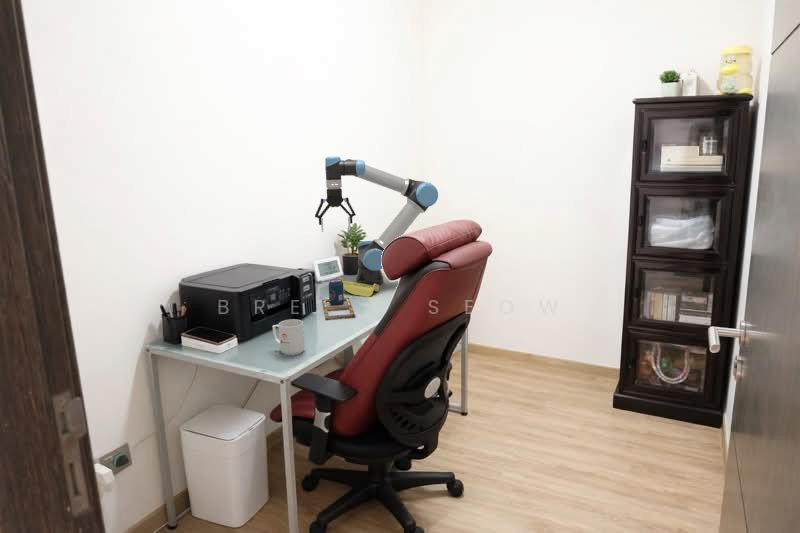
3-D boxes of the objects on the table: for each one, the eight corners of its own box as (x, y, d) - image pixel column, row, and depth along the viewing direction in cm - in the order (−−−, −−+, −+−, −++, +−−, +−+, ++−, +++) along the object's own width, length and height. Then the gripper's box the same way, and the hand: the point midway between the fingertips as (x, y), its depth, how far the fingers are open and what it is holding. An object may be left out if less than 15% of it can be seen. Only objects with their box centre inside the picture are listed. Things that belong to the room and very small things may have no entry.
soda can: (326, 304, 261) (325, 280, 259) (338, 302, 266) (337, 277, 263) (334, 308, 256) (333, 283, 254) (347, 305, 261) (346, 280, 258)
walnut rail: (322, 301, 267) (322, 299, 267) (348, 299, 269) (348, 297, 269) (325, 320, 239) (325, 317, 239) (355, 317, 242) (355, 315, 241)
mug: (309, 348, 206) (307, 320, 204) (297, 357, 198) (295, 328, 196) (281, 345, 210) (279, 317, 208) (268, 353, 202) (266, 325, 200)
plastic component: (381, 286, 283) (374, 282, 274) (378, 300, 282) (371, 297, 273) (346, 281, 290) (338, 277, 281) (343, 294, 289) (335, 291, 280)
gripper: (308, 189, 267) (311, 233, 272) (360, 187, 271) (361, 230, 276) (308, 188, 274) (310, 230, 279) (358, 186, 279) (359, 228, 283)
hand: (336, 230), depth 277 cm, fingers open, 13 cm apart
